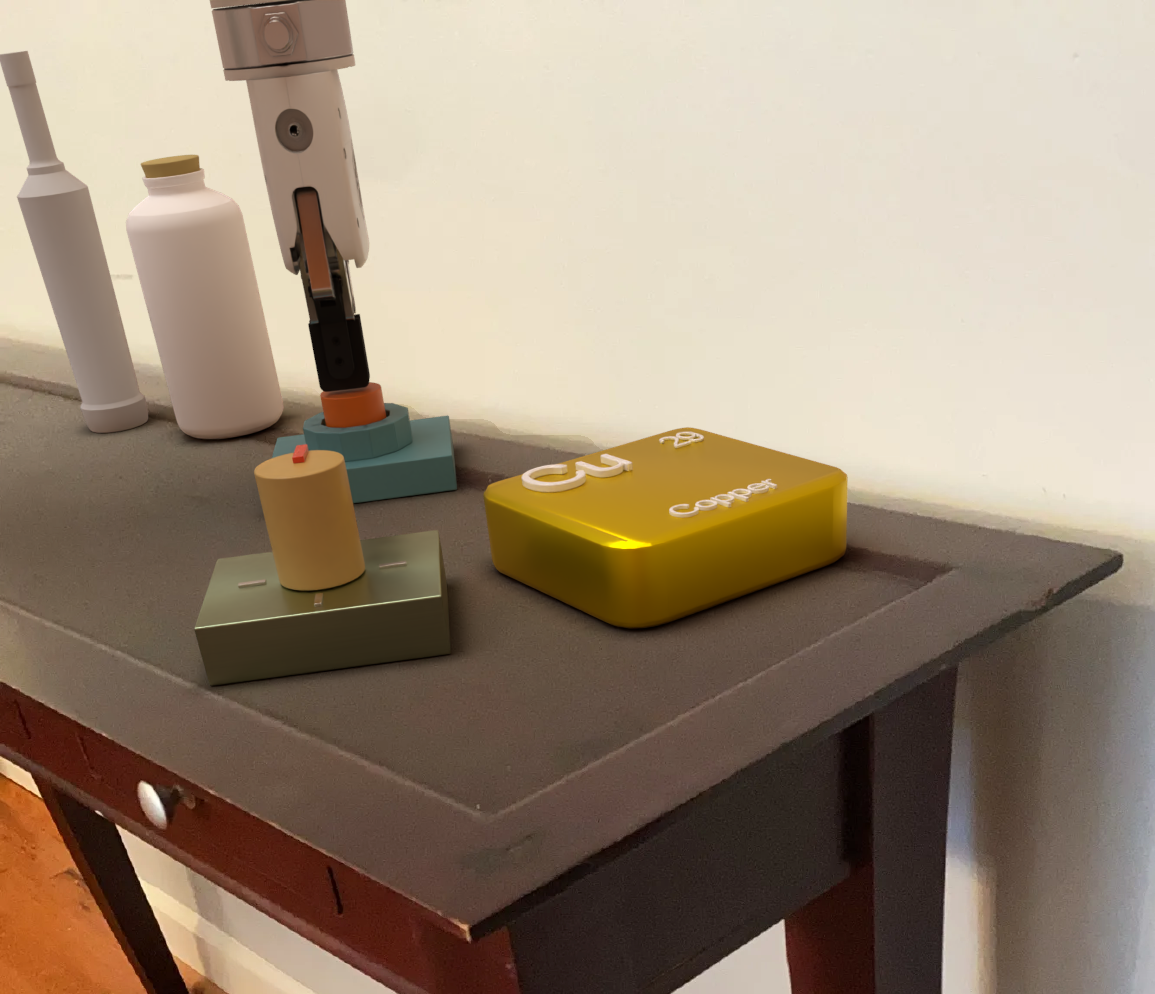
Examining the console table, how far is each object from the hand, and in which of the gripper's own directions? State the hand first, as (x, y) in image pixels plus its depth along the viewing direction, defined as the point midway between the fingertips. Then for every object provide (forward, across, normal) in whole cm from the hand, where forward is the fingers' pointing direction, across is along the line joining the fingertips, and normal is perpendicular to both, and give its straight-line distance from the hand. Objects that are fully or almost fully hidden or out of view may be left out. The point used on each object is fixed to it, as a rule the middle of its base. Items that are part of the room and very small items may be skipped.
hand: (345, 386), depth 91 cm
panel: (+6, -27, +1) cm, 28 cm away
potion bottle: (+6, +19, +11) cm, 23 cm away
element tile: (+6, -23, -17) cm, 29 cm away
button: (+2, 0, 0) cm, 2 cm away
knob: (+3, -27, +1) cm, 27 cm away
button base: (+6, 0, 0) cm, 6 cm away
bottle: (+6, +25, +21) cm, 33 cm away
